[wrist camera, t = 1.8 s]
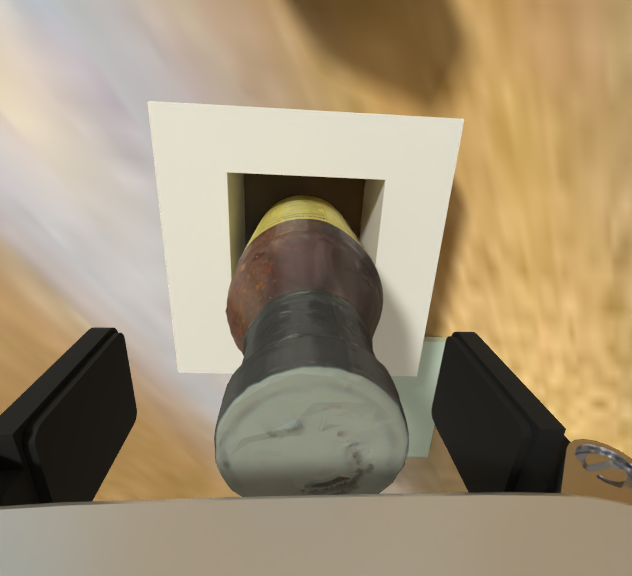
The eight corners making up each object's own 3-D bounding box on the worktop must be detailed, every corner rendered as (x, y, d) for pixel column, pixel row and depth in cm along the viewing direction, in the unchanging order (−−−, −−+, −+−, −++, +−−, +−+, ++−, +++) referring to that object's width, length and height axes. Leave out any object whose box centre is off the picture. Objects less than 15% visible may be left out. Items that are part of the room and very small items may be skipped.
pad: (448, 337, 30) (452, 342, 29) (424, 450, 34) (427, 457, 33) (299, 333, 29) (299, 339, 28) (295, 449, 33) (295, 456, 33)
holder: (425, 122, 23) (464, 118, 18) (394, 330, 29) (416, 376, 24) (184, 109, 23) (147, 101, 17) (201, 325, 28) (178, 372, 23)
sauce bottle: (336, 284, 27) (410, 585, 9) (252, 269, 27) (148, 563, 8) (357, 196, 25) (516, 364, 7) (265, 177, 24) (162, 307, 6)
